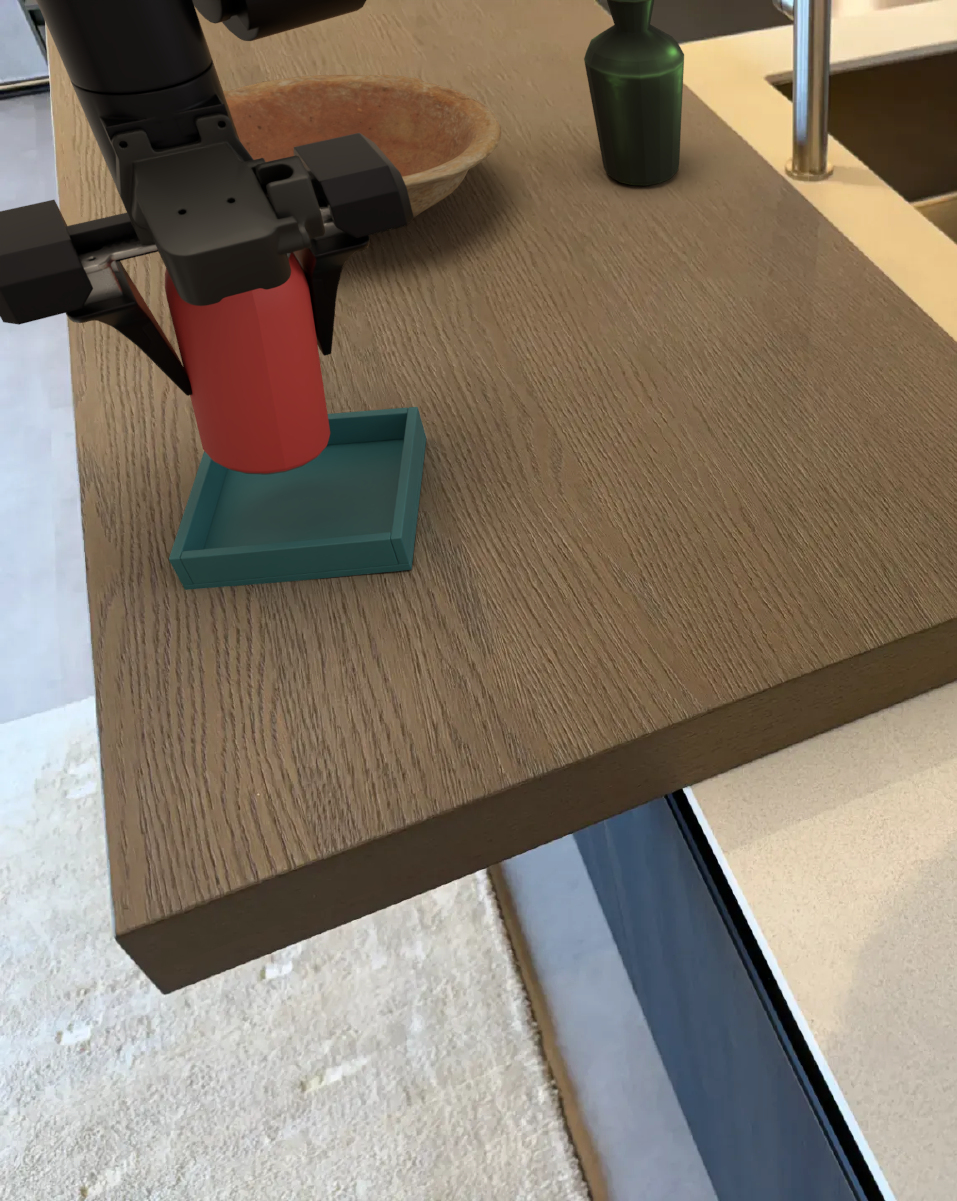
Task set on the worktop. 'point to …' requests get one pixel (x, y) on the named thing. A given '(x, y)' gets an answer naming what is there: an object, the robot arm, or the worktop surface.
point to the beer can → (255, 375)
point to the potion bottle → (636, 95)
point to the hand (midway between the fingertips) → (258, 371)
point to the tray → (309, 509)
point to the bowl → (371, 124)
